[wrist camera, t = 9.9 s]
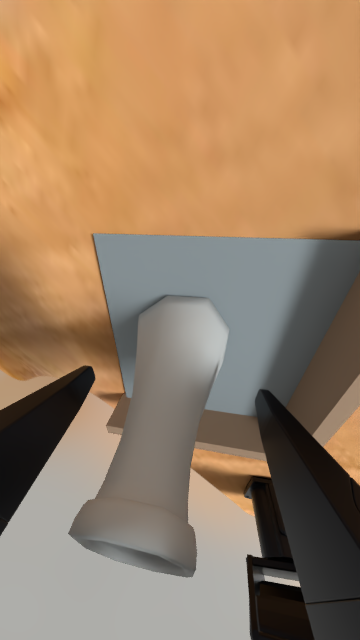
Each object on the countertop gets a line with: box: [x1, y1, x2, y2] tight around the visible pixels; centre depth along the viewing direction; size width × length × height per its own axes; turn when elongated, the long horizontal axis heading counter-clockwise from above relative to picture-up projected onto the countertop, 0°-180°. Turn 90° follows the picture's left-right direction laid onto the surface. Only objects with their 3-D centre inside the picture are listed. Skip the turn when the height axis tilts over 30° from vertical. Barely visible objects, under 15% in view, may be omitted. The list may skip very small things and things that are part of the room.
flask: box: [68, 296, 230, 577], centre depth 8 cm, size 7×7×10 cm
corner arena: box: [93, 234, 360, 461], centre depth 12 cm, size 18×18×4 cm
